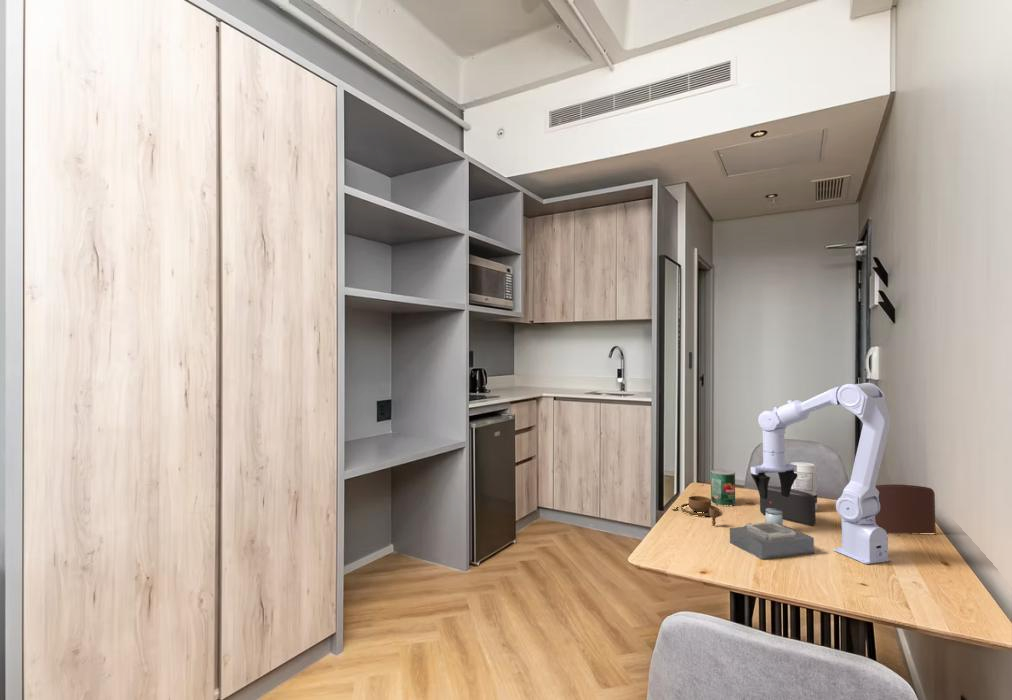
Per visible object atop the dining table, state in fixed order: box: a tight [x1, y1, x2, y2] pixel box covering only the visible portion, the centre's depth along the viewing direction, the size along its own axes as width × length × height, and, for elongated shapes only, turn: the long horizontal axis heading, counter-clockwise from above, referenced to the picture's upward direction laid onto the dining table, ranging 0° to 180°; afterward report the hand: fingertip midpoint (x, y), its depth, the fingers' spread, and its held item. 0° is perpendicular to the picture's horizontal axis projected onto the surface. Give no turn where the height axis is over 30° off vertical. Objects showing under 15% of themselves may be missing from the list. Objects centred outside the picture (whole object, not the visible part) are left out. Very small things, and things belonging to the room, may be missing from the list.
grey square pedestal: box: [729, 521, 815, 560], centre depth 139 cm, size 16×16×5 cm
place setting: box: [671, 495, 720, 527], centre depth 165 cm, size 18×20×6 cm
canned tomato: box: [710, 468, 736, 507], centre depth 178 cm, size 8×8×11 cm
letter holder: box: [875, 483, 937, 535], centre depth 152 cm, size 10×20×14 cm, turn 85°
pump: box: [765, 508, 784, 525], centre depth 150 cm, size 4×4×6 cm
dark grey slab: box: [759, 485, 817, 526], centre depth 160 cm, size 16×5×9 cm, turn 39°
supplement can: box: [790, 461, 818, 511], centre depth 171 cm, size 8×8×15 cm
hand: (774, 497), depth 151 cm, fingers open, 7 cm apart
